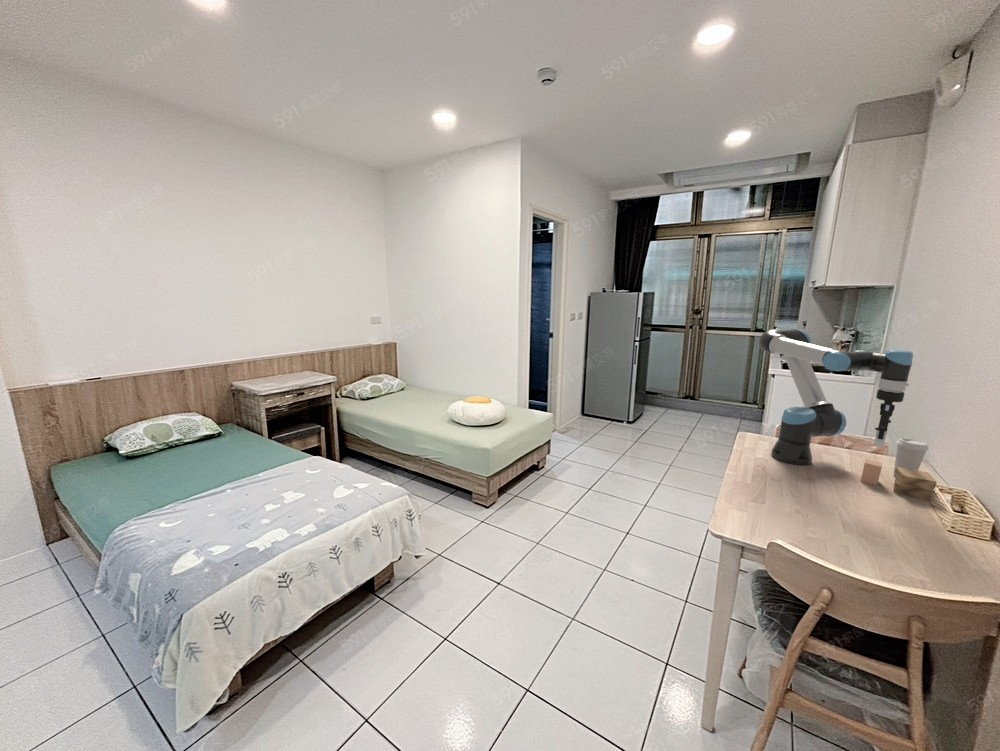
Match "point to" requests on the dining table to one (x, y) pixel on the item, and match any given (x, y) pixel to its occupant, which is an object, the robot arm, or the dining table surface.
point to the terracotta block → (871, 472)
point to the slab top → (915, 479)
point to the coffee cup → (910, 453)
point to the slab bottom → (912, 491)
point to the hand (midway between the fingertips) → (879, 442)
